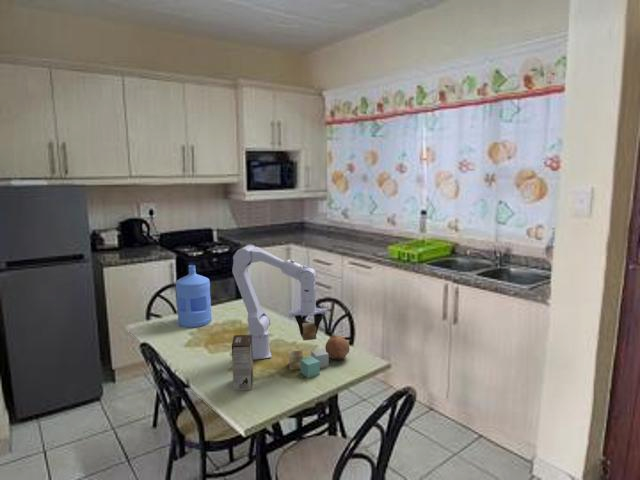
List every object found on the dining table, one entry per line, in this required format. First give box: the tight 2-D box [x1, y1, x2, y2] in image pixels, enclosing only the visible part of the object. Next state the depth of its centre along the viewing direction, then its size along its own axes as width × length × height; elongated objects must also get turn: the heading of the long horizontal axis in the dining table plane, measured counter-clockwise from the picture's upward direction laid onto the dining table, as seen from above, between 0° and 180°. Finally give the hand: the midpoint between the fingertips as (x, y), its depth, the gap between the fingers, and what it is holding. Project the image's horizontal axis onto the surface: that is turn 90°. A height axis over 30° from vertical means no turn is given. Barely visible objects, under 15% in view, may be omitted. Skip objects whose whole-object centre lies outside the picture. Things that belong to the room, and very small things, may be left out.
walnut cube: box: [300, 321, 317, 341], centre depth 169 cm, size 5×5×5 cm
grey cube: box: [310, 348, 330, 369], centre depth 165 cm, size 5×5×5 cm
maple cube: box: [288, 350, 304, 370], centre depth 164 cm, size 5×5×5 cm
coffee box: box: [231, 334, 254, 391], centre depth 150 cm, size 9×6×16 cm
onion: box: [324, 334, 350, 361], centre depth 171 cm, size 10×9×10 cm
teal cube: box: [300, 356, 321, 379], centre depth 159 cm, size 5×5×5 cm
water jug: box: [175, 264, 212, 328], centre depth 209 cm, size 16×16×28 cm
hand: (308, 333), depth 169 cm, fingers closed on walnut cube, 5 cm apart
